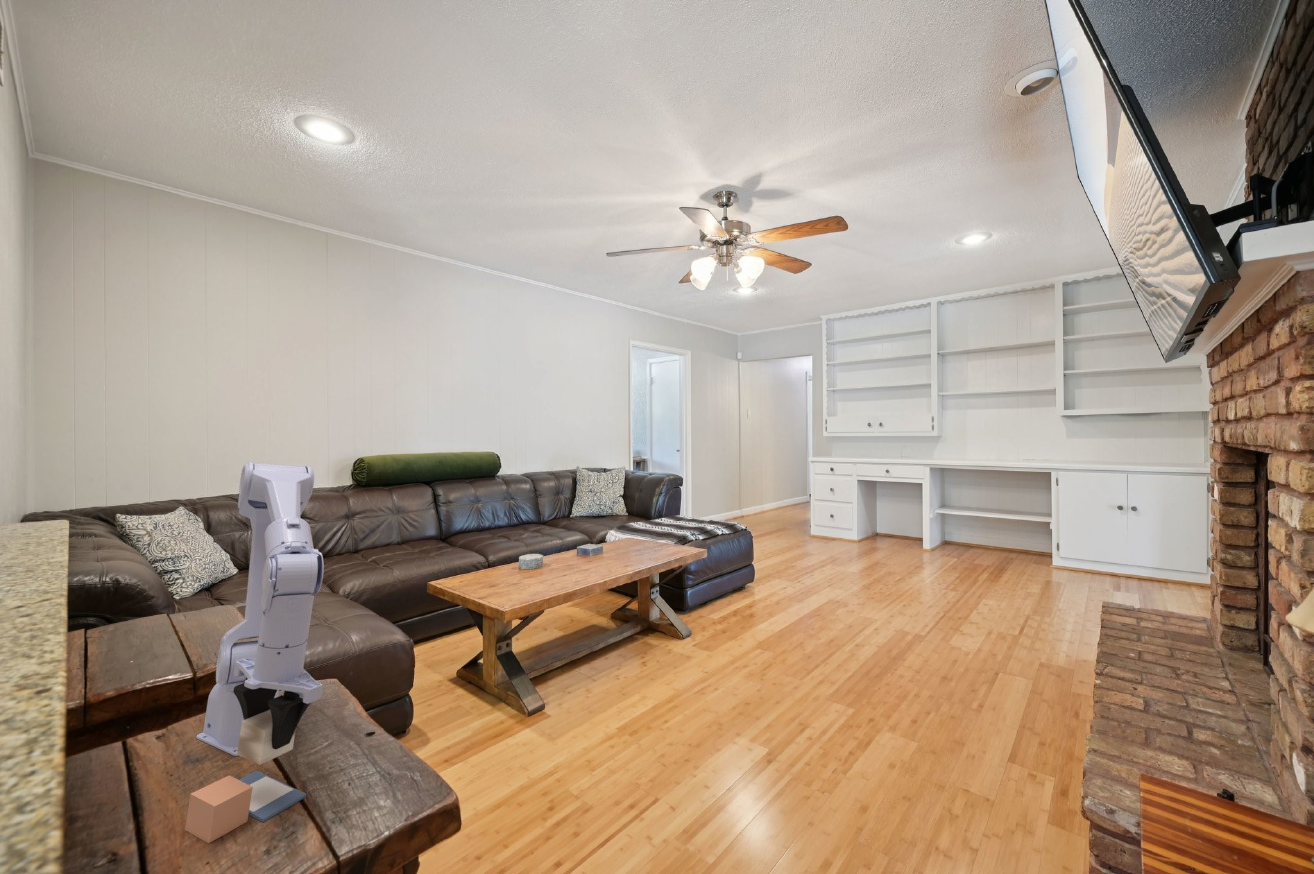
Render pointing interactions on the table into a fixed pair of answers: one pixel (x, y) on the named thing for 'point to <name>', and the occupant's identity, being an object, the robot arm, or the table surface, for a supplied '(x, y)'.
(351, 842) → the table surface
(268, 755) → the cream block
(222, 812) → the terracotta block
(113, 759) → the table surface
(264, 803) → the blue flat board
